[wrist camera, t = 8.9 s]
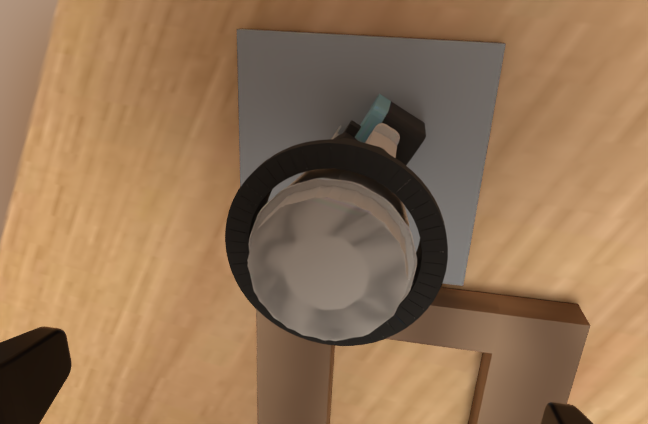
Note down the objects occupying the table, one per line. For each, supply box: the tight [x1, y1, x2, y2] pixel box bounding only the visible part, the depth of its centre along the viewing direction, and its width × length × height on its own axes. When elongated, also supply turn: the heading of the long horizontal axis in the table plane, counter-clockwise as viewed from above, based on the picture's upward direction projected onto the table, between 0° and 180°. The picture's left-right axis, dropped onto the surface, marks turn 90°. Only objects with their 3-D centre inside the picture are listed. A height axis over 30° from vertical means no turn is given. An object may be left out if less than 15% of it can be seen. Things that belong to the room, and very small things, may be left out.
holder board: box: [256, 288, 590, 424], centre depth 24 cm, size 14×13×2 cm
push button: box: [225, 94, 448, 346], centre depth 16 cm, size 7×5×10 cm
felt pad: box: [237, 29, 506, 286], centre depth 20 cm, size 10×10×1 cm
